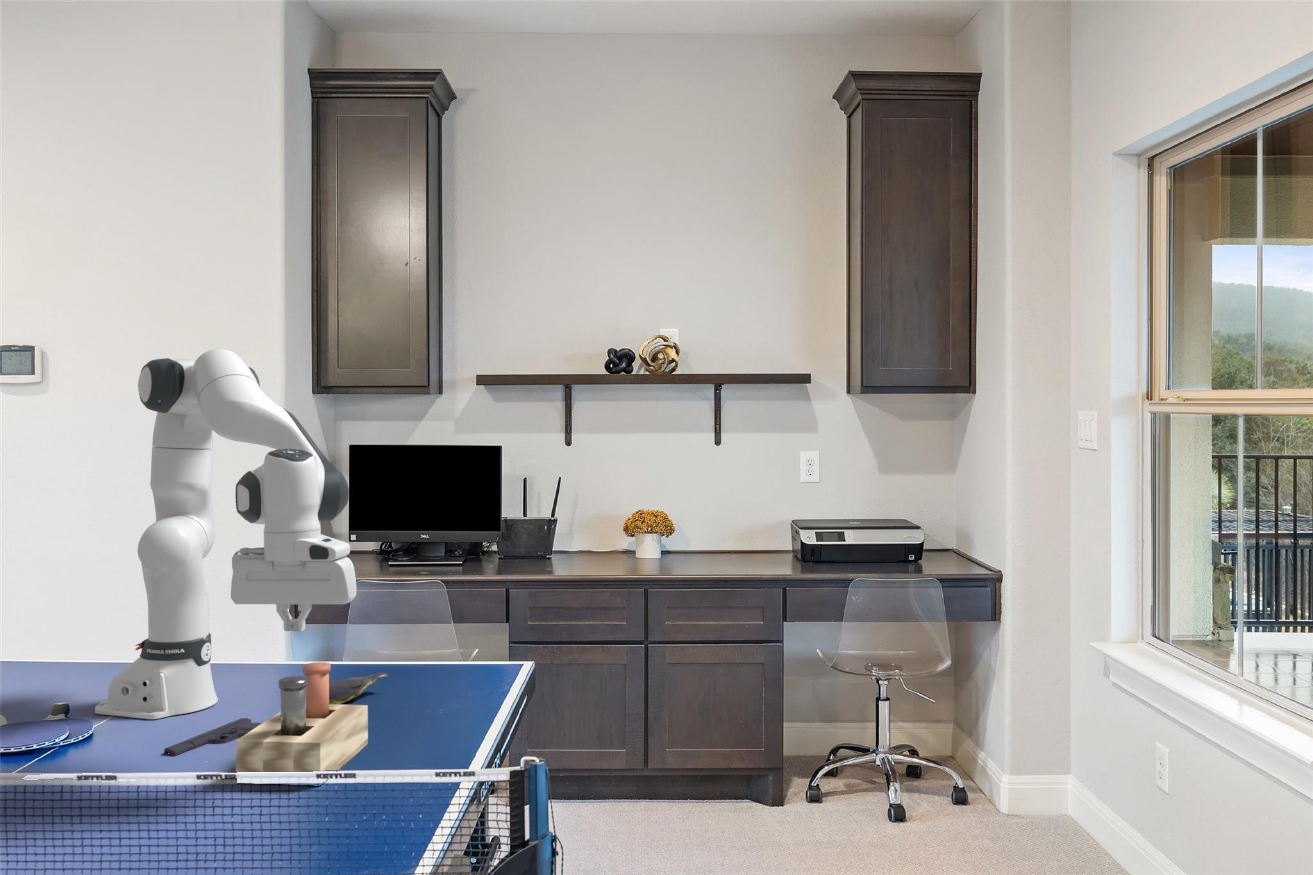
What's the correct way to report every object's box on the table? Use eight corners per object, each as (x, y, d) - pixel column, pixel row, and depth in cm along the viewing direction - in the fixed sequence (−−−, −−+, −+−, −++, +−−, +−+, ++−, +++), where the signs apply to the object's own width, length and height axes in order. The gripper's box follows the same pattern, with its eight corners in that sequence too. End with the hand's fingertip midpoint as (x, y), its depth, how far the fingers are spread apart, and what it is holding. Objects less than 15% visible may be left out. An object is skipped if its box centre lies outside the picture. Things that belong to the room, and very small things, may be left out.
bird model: (296, 711, 189) (296, 687, 189) (377, 689, 205) (377, 666, 205) (311, 716, 186) (311, 691, 186) (392, 693, 202) (392, 670, 202)
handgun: (288, 733, 178) (239, 726, 182) (288, 721, 178) (238, 714, 182) (213, 766, 161) (160, 757, 165) (212, 753, 161) (160, 745, 165)
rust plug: (298, 726, 164) (298, 668, 163) (310, 717, 168) (309, 661, 168) (324, 726, 163) (323, 669, 163) (335, 718, 168) (334, 662, 168)
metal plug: (273, 743, 155) (273, 683, 154) (286, 734, 159) (286, 675, 159) (300, 744, 154) (300, 683, 154) (313, 735, 159) (312, 676, 159)
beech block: (236, 783, 152) (235, 740, 152) (293, 741, 172) (292, 703, 172) (320, 786, 151) (320, 742, 151) (367, 743, 171) (367, 705, 171)
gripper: (222, 550, 154) (224, 634, 154) (344, 549, 152) (346, 634, 153) (241, 545, 160) (243, 626, 160) (359, 544, 159) (361, 626, 159)
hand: (294, 630), depth 156 cm, fingers closed
